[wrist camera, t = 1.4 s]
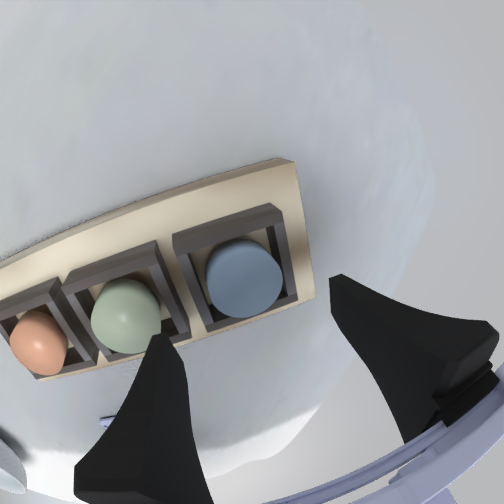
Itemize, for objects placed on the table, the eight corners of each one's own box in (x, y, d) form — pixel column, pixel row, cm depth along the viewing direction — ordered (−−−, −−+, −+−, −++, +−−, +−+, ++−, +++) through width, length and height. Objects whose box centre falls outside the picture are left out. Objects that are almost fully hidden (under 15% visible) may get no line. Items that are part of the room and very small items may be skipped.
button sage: (170, 324, 17) (172, 343, 15) (115, 341, 16) (112, 360, 15) (144, 269, 15) (142, 285, 14) (85, 290, 15) (78, 308, 13)
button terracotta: (79, 351, 16) (74, 369, 14) (39, 361, 15) (33, 379, 14) (48, 304, 14) (39, 321, 13) (8, 318, 14) (-1, 334, 12)
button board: (302, 281, 23) (328, 312, 19) (47, 362, 20) (35, 398, 16) (279, 157, 19) (309, 166, 15) (-13, 269, 15) (-40, 298, 11)
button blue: (277, 287, 18) (287, 303, 16) (216, 309, 17) (221, 327, 16) (264, 229, 16) (275, 241, 15) (195, 252, 16) (199, 266, 14)
